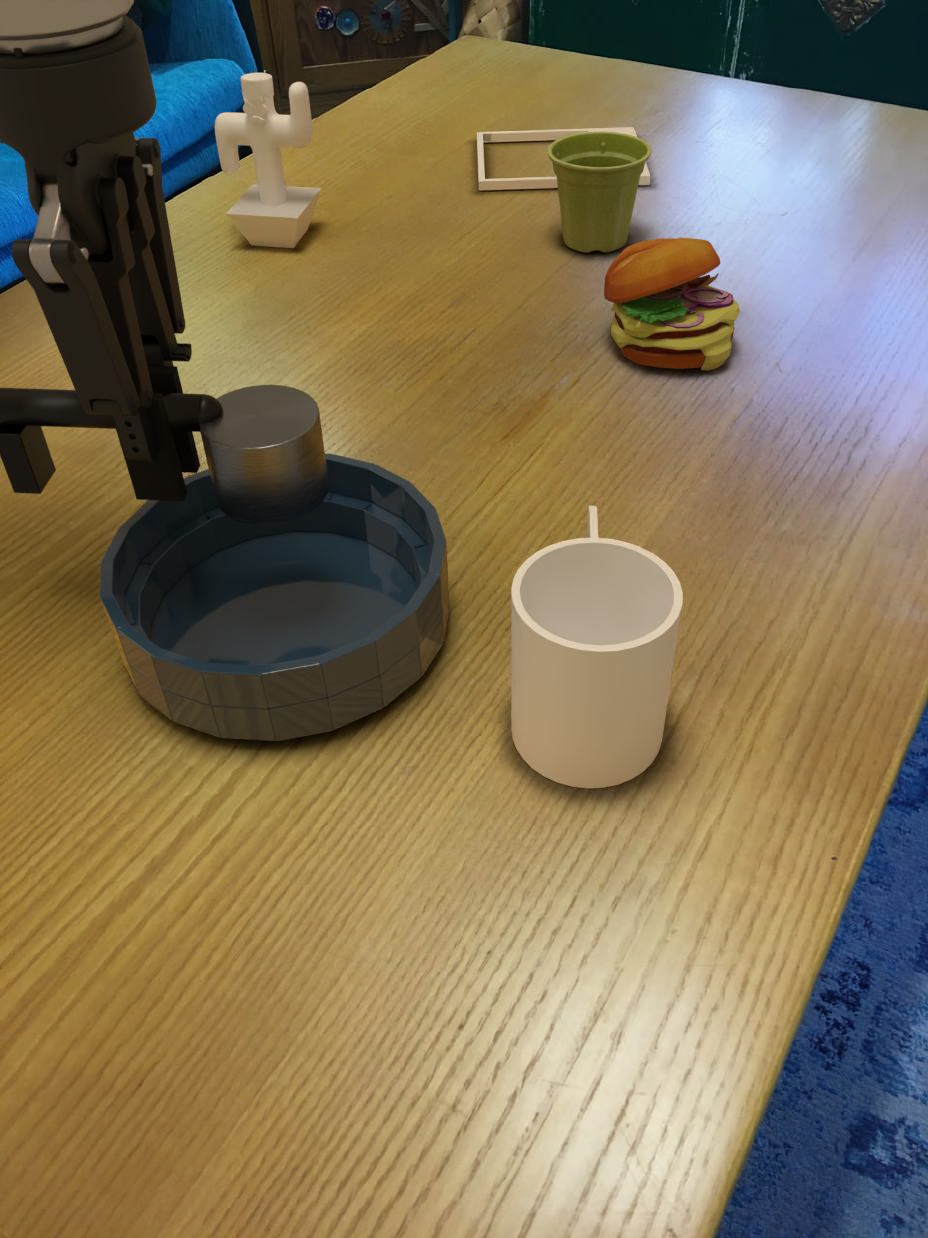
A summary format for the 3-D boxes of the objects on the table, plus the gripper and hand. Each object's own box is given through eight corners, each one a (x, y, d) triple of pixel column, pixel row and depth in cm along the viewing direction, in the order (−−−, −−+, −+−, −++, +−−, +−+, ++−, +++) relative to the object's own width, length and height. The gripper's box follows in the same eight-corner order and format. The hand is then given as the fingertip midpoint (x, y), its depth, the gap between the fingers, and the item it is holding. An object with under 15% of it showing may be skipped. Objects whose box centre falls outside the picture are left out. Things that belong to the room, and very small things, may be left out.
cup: (652, 629, 63) (670, 493, 57) (667, 791, 55) (690, 653, 48) (515, 626, 64) (515, 491, 57) (508, 786, 55) (508, 649, 48)
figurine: (248, 219, 109) (220, 60, 99) (336, 224, 107) (317, 63, 97) (221, 249, 104) (189, 85, 93) (313, 256, 102) (291, 89, 92)
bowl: (78, 740, 59) (46, 663, 54) (180, 521, 72) (160, 447, 68) (428, 759, 57) (421, 683, 53) (463, 531, 71) (460, 457, 67)
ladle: (338, 460, 62) (327, 369, 58) (316, 528, 58) (303, 434, 54) (24, 449, 64) (-8, 359, 60) (-22, 513, 59) (-60, 421, 55)
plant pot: (525, 242, 103) (526, 150, 97) (589, 212, 107) (593, 122, 102) (599, 271, 98) (605, 176, 92) (663, 239, 102) (672, 146, 97)
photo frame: (650, 173, 111) (478, 179, 111) (649, 184, 112) (478, 190, 112) (633, 124, 122) (476, 130, 122) (633, 135, 122) (476, 140, 123)
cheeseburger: (680, 395, 82) (668, 265, 76) (584, 373, 90) (567, 254, 84) (765, 348, 86) (759, 223, 81) (667, 331, 94) (655, 216, 89)
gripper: (68, 85, 39) (196, 572, 55) (185, -23, 49) (264, 411, 66) (-128, 83, 39) (57, 565, 56) (30, -22, 50) (146, 407, 66)
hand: (169, 481), depth 61 cm, fingers closed on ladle, 2 cm apart
